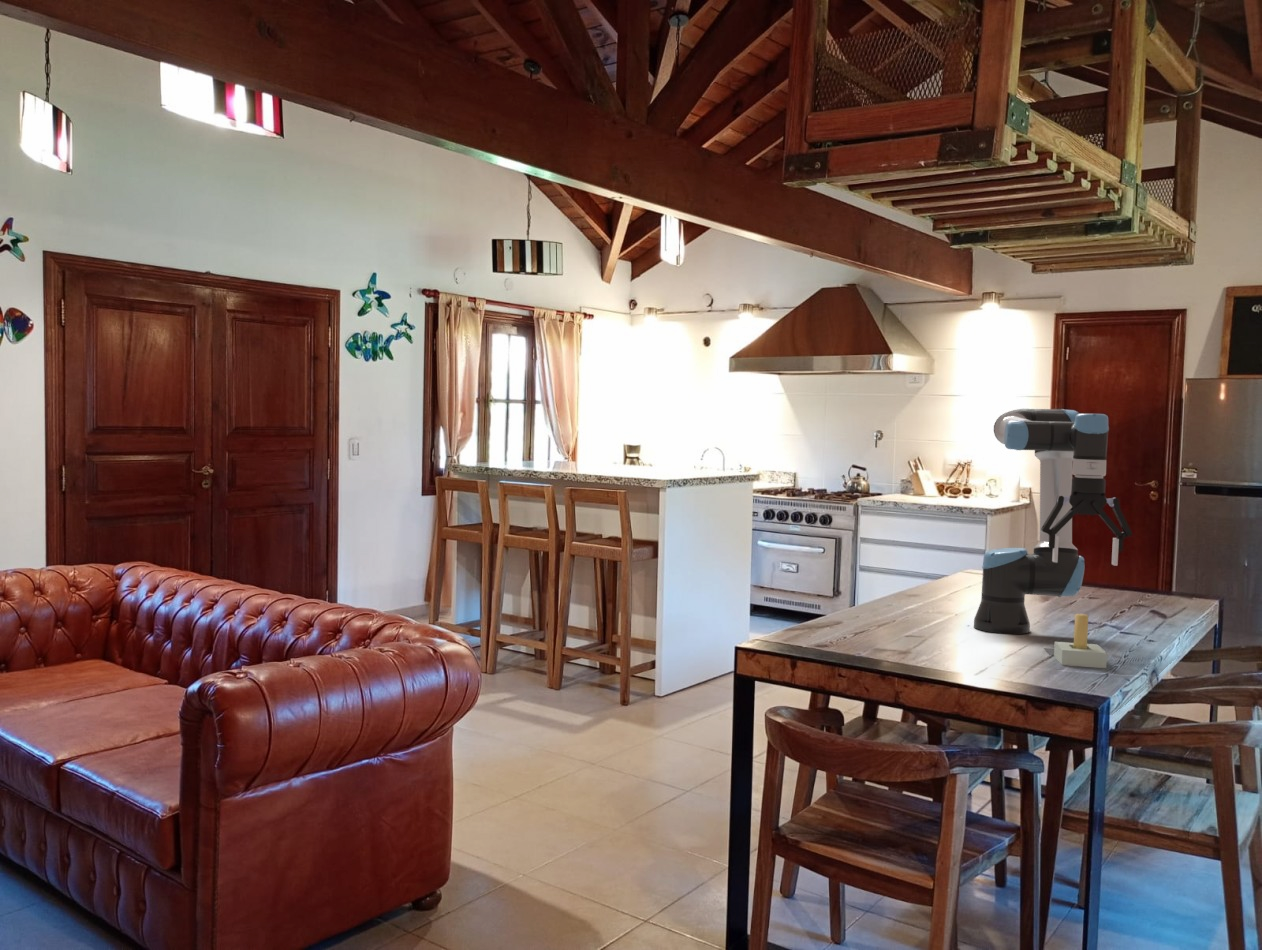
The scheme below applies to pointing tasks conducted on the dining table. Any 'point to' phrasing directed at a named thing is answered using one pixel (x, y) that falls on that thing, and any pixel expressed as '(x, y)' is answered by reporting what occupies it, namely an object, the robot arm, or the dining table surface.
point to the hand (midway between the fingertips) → (1084, 563)
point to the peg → (1080, 631)
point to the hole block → (1080, 655)
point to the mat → (1049, 651)
